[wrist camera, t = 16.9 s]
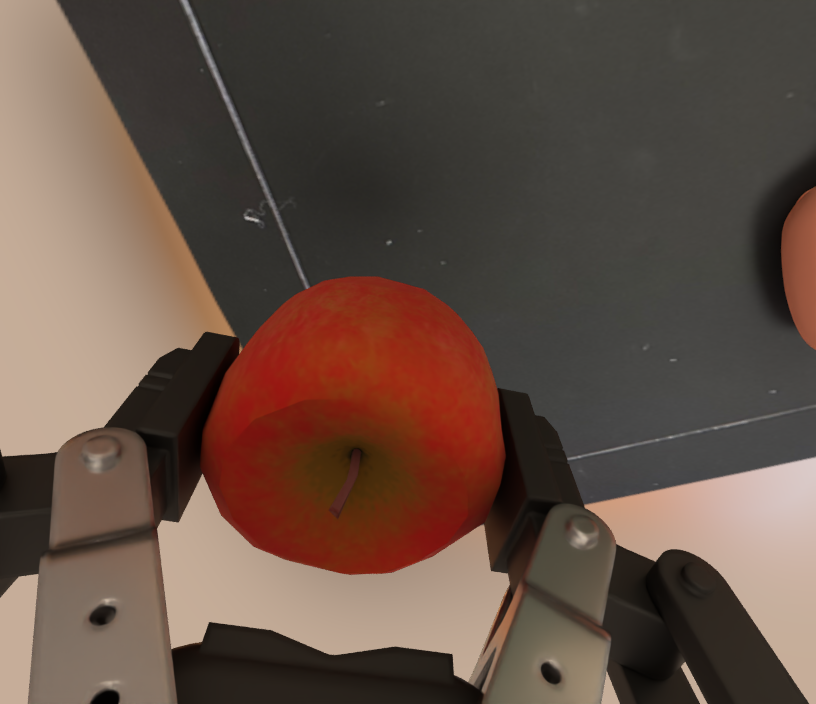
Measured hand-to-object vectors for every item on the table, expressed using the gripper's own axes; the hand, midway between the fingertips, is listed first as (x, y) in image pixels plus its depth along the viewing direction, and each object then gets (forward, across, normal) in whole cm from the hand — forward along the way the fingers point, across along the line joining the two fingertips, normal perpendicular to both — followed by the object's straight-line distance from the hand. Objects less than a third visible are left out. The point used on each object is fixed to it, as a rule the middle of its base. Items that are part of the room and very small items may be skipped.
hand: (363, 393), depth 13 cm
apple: (+4, 0, 0) cm, 4 cm away
